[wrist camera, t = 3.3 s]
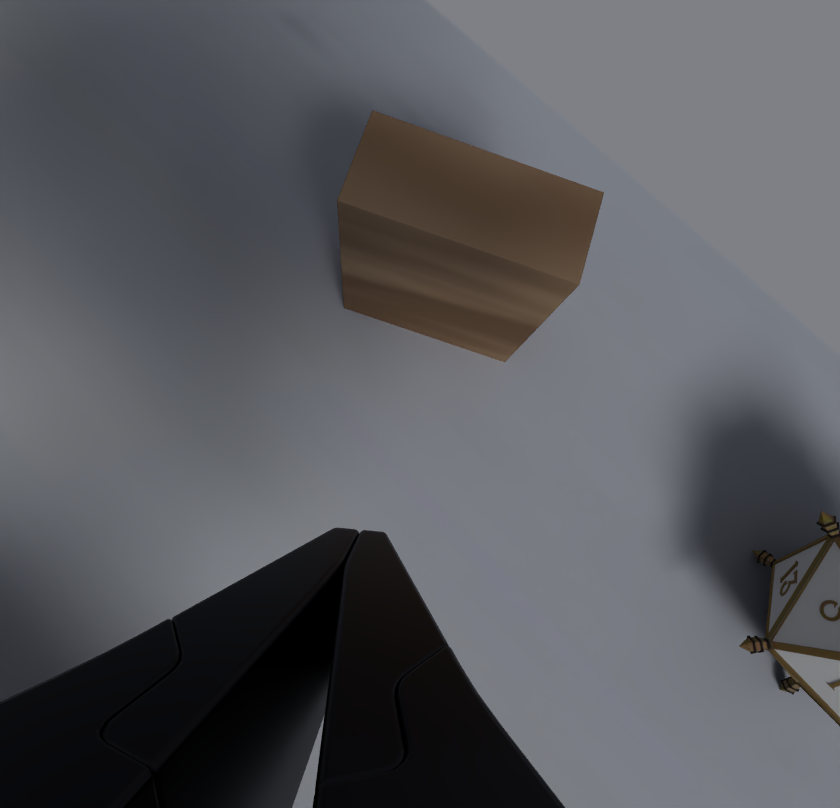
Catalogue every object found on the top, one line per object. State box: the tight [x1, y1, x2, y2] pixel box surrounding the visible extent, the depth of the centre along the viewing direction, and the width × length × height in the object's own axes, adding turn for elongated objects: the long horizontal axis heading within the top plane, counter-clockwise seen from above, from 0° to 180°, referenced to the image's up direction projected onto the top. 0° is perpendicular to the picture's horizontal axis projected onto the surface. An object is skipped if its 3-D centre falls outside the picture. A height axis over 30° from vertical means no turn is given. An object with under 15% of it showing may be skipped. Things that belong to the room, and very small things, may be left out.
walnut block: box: [337, 110, 604, 362], centre depth 19 cm, size 3×7×8 cm, turn 73°
